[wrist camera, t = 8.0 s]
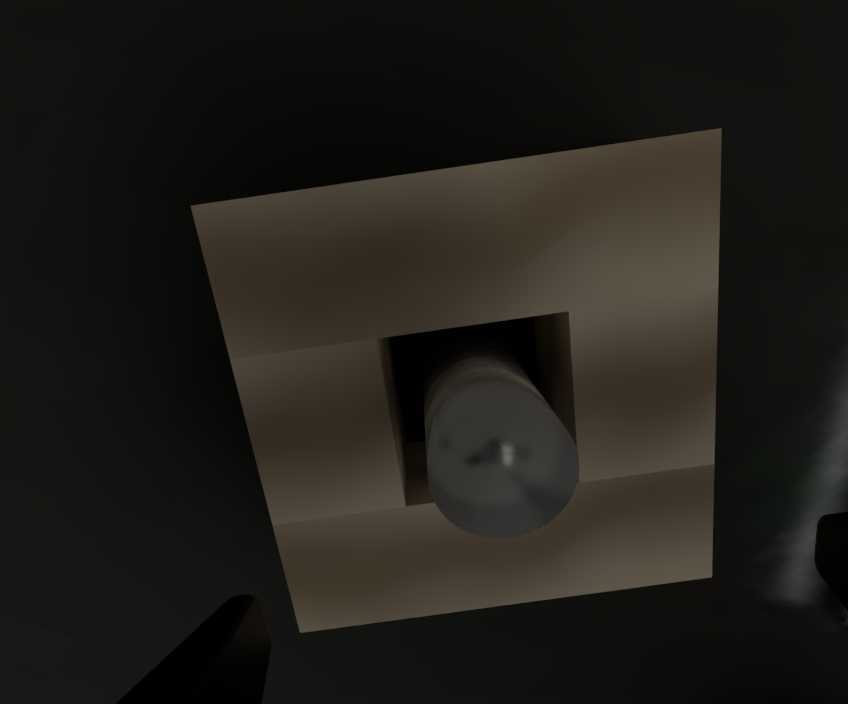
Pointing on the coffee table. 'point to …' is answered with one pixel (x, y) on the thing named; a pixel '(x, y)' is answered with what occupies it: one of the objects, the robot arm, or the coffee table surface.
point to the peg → (492, 439)
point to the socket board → (469, 305)
